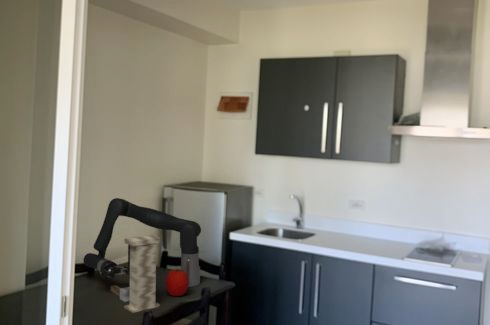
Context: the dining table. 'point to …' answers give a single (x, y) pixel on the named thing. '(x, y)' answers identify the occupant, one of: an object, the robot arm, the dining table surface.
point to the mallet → (121, 292)
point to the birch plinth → (142, 273)
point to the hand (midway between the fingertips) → (121, 274)
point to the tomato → (177, 282)
